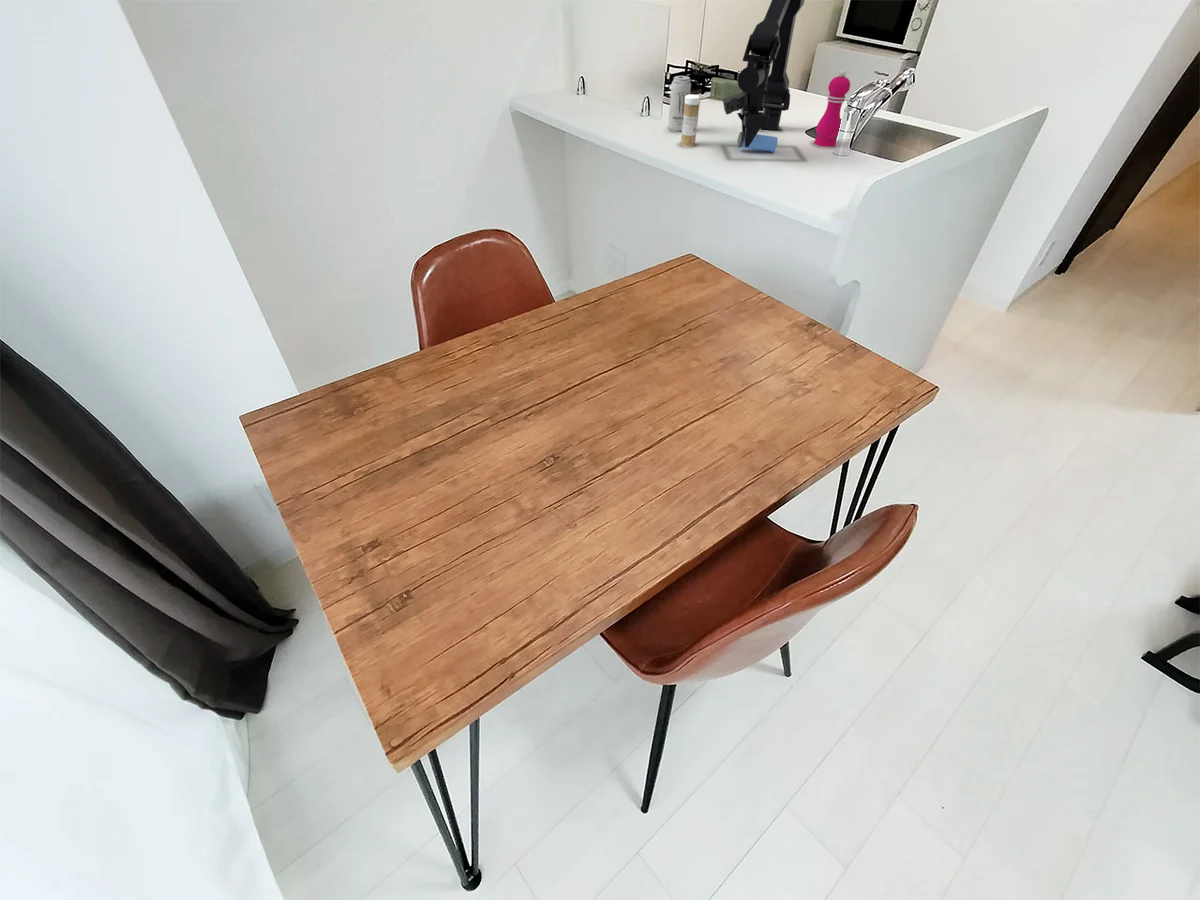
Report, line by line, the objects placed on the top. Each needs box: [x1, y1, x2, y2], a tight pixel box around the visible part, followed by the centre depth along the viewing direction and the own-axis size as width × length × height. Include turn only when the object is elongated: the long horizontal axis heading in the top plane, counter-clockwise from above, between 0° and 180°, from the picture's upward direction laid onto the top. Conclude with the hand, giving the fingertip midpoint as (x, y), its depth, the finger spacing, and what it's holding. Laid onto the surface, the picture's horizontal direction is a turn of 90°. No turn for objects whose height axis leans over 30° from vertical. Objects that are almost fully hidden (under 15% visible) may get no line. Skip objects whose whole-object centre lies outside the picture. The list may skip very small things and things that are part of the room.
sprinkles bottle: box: [680, 93, 702, 147], centre depth 180 cm, size 5×5×14 cm
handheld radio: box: [709, 77, 742, 101], centre depth 219 cm, size 7×3×25 cm
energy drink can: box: [667, 75, 692, 134], centre depth 190 cm, size 6×6×15 cm
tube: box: [736, 131, 779, 153], centre depth 178 cm, size 4×11×4 cm, turn 90°
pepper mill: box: [814, 69, 851, 148], centre depth 180 cm, size 7×7×20 cm
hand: (745, 144), depth 179 cm, fingers closed on tube, 4 cm apart
